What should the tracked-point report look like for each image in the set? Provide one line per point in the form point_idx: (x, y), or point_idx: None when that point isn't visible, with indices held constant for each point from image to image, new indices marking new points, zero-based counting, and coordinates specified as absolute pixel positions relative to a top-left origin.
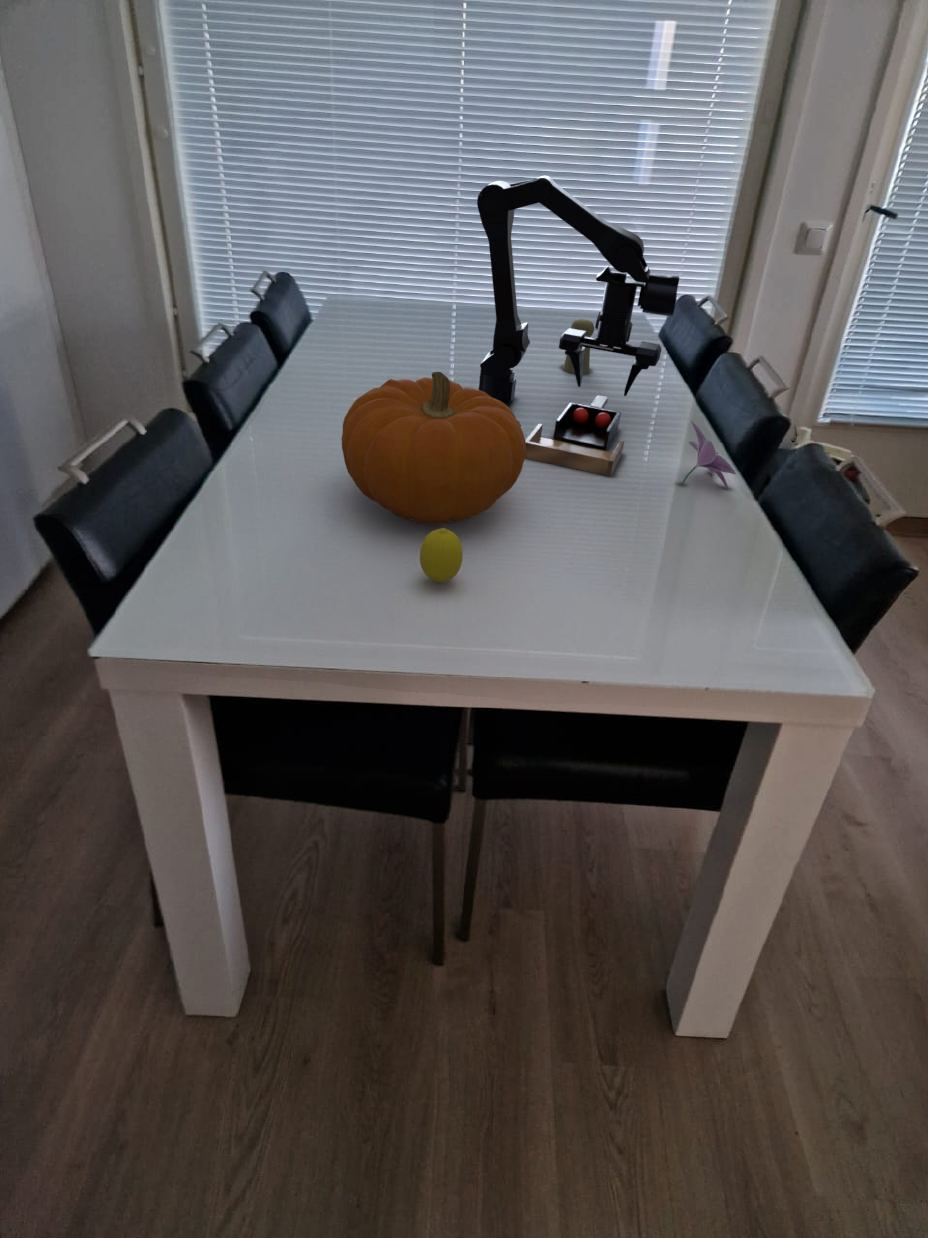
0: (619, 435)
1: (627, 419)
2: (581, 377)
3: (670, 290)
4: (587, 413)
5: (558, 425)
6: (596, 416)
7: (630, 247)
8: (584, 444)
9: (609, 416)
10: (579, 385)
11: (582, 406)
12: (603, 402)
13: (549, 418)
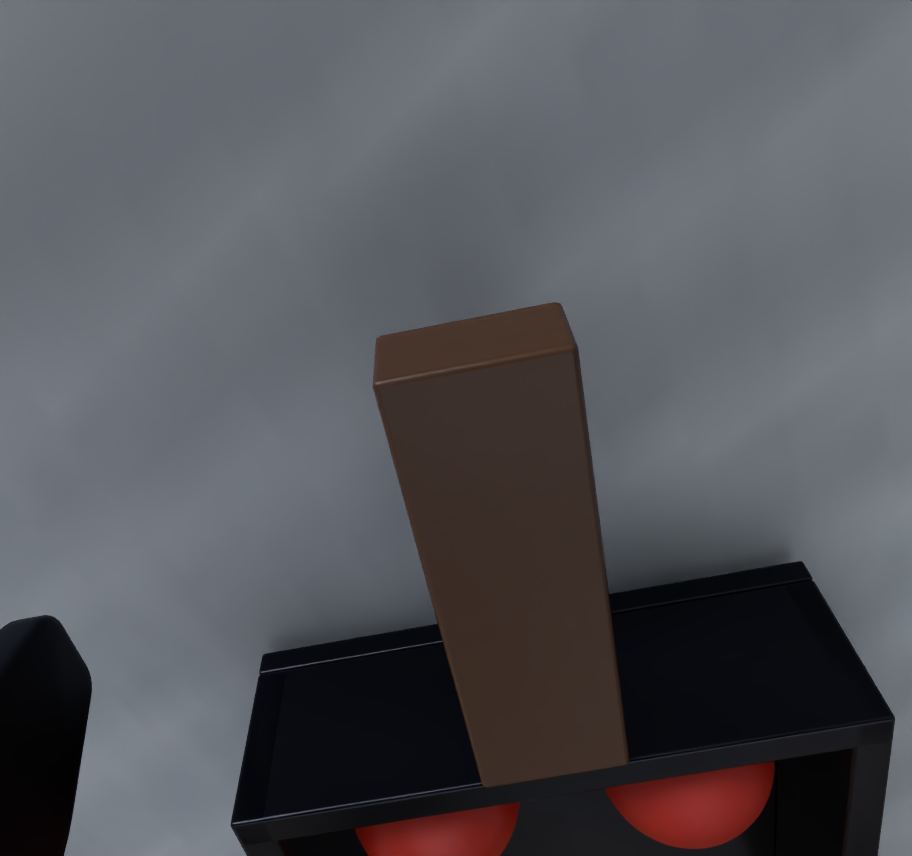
0: (834, 613)
1: (854, 115)
2: (9, 822)
3: None
4: (512, 828)
5: None
6: (618, 810)
7: None
8: None
9: (765, 796)
10: (85, 724)
11: (407, 816)
12: (595, 608)
13: (100, 688)
